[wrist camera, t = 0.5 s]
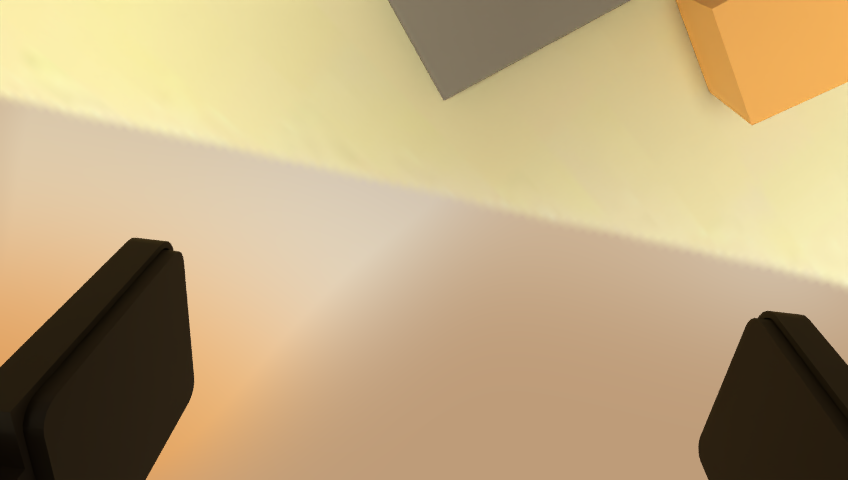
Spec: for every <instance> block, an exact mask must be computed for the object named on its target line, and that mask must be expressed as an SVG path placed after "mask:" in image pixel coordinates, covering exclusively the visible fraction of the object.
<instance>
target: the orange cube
mask: <svg viewBox="0 0 848 480" xmlns="http://www.w3.org/2000/svg"><path fill="white" fill-rule="evenodd" d="M676 2H677V5H678V8H679V10H680V13H681V16H682V19H683V21H684V24H685V27H686V29H687V32H688V35H689V38H690V40H691V43H692V46H693V49H694V51H695V54H696V57H697V59H698V62H699V65H700V68H701V70H702V73H703V76H704V79H705V81H706V84H707V87H708V89H709V92H710V93H712V94H713V95H714V96H715V97H717V98H718V99H719V100H720V101H722V102H723V103H724V104H726V105H727V106H728V107H729V108H731V109H732V110H733V111H734V112H736V113H737V114H738V115H739V116H741V117H742V118H743V119H745V120H746V121H747V122H748V123H750V124H751V125H754V124H756V123H758V122H760V121H763V120H765V119H767V118H769V117H771V116H774V115H776V114H778V113H780V112H782V111H785V110H787V109H789V108H791V107H793V106H796V105H798V104H800V103H802V102H804V101H807V100H809V99H811V98H813V97H815V96H818V95H820V94H822V93H824V92H826V91H829V90H831V89H833V88H835V87H837V86H839V85H842V84H844V83H846V82H848V0H676Z"/></svg>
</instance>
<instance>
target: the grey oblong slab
mask: <svg viewBox="0 0 848 480" xmlns="http://www.w3.org/2000/svg"><path fill="white" fill-rule="evenodd" d="M388 1H389V3H390V5H391V7H392V8H393V10H394V12H395V14H396V16H397V17H398V19H399V21H400V23H401V25H402V26H403V28H404V30H405V32H406V34H407V35H408V37H409V39H410V41H411V43H412V44H413V46H414V48H415V50H416V52H417V53H418V55H419V57H420V59H421V61H422V62H423V64H424V66H425V68H426V70H427V71H428V73H429V75H430V77H431V79H432V80H433V82H434V84H435V86H436V88H437V89H438V91H439V93H440V95H441V97H442V98H443V100H446V99H448V98H450V97H452V96H453V95H455V94H457V93H459V92H461V91H463V90H465V89H466V88H468V87H470V86H472V85H474V84H476V83H478V82H479V81H481V80H483V79H485V78H487V77H489V76H491V75H492V74H494V73H496V72H498V71H500V70H502V69H504V68H505V67H507V66H509V65H511V64H513V63H515V62H517V61H518V60H520V59H522V58H524V57H526V56H528V55H530V54H531V53H533V52H535V51H537V50H539V49H541V48H543V47H544V46H546V45H548V44H550V43H552V42H554V41H556V40H557V39H559V38H561V37H563V36H565V35H567V34H569V33H570V32H572V31H574V30H576V29H578V28H580V27H582V26H584V25H585V24H587V23H589V22H591V21H593V20H595V19H597V18H598V17H600V16H602V15H604V14H606V13H608V12H610V11H611V10H613V9H615V8H617V7H619V6H621V5H623V4H624V3H626V2H628V1H630V0H388Z"/></svg>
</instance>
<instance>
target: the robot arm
mask: <svg viewBox="0 0 848 480" xmlns="http://www.w3.org/2000/svg"><path fill="white" fill-rule="evenodd" d="M193 387H194V372H193V361H192V349H191V338H190V327H189V315H188V304H187V293H186V282H185V269H184V260H183V256H182V253H181V252H178V251H173V247H172V245H171V244H170V243H169V242H167V241H159V240H150V239H142V238H131V239H130V240H128V241H127V242H126V243H125V244H124V245H123V246H122V247H121V248H120V249H119V250H118V251H117V252H116V253H115V254H114V255H113V256H112V257H111V258H110V259H109V260H108V261H107V262H106V263H105V264H104V265H103V266H102V267H101V268H100V269H99V270H98V271H97V272H96V273H95V274H94V275H93V276H92V277H91V278H90V279H89V280H88V281H87V282H86V283H85V284H84V285H83V286H82V287H81V288H80V289H79V290H78V291H77V292H76V293H75V294H74V295H73V296H72V297H71V298H70V299H69V300H68V301H67V302H66V303H65V304H64V305H63V306H62V307H61V308H60V309H59V310H58V311H57V312H56V313H55V314H54V315H53V316H52V317H51V318H50V319H48V320H47V321H46V322H45V323H44V325H43V326H41V328H39V329H38V330H37V331H36V332H35V333H34V334H33V335H32V336H31V337H30V338H29V339H28V340H27V341H26V342H25V343H24V344H23V345H22V346H21V347H20V348H19V349H18V350H17V351H16V352H15V353H14V354H13V355H12V356H11V357H10V358H9V359H8V360H7V361H6V362H5V363H4V364H3V365H2V366H1V367H0V480H146V478H147V476H148V474H149V472H150V471H151V469H152V467H153V465H154V464H155V462H156V460H157V458H158V456H159V455H160V453H161V451H162V449H163V448H164V446H165V444H166V442H167V440H168V439H169V437H170V435H171V433H172V431H173V430H174V428H175V426H176V424H177V422H178V421H179V419H180V417H181V415H182V413H183V412H184V410H185V408H186V406H187V404H188V403H189V400H190V398H191V395H192V392H193ZM699 457H700V461H701V463H702V465H703V468H704V470H705V473H706V475H707V477H708V479H709V480H848V365H847V364H846V363H845V362H844V360H843V359H842V358H841V357H840V356H839V354H838V353H837V352H836V351H835V350H834V348H833V347H832V346H831V345H830V344H829V343H828V341H827V340H826V339H825V338H824V337H823V335H822V334H821V333H820V332H819V331H818V330H817V328H816V327H815V326H814V325H813V323H811V321H810V320H809V319H808V318H807V317H806V316H804V315H799V314H790V313H781V312H773V311H766V312H763V313H762V314H761V315H760V316H759V317H758V318H753V319H751V320H750V321H749V322H748V323H747V325H746V327H745V330H744V332H743V335H742V337H741V339H740V342H739V344H738V347H737V349H736V351H735V354H734V357H733V359H732V361H731V364H730V366H729V368H728V371H727V374H726V376H725V378H724V381H723V383H722V385H721V388H720V390H719V393H718V395H717V398H716V400H715V402H714V405H713V407H712V410H711V412H710V415H709V417H708V419H707V422H706V424H705V427H704V429H703V432H702V434H701V436H700V440H699Z"/></svg>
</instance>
